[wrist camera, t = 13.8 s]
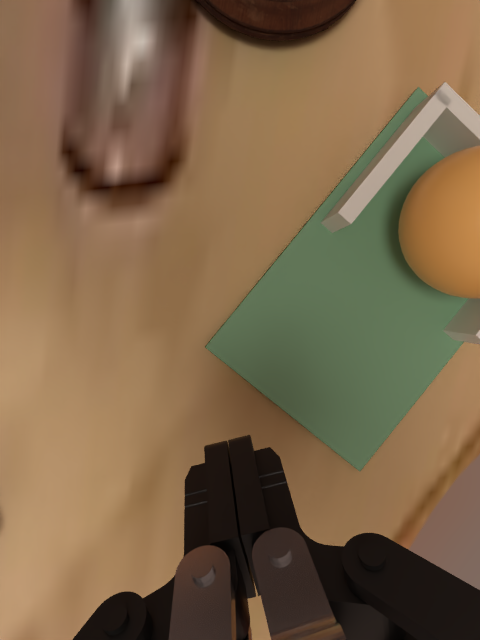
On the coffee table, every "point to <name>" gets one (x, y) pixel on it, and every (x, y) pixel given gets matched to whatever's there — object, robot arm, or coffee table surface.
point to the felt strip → (346, 317)
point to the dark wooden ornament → (277, 16)
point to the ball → (445, 225)
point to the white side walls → (424, 121)
